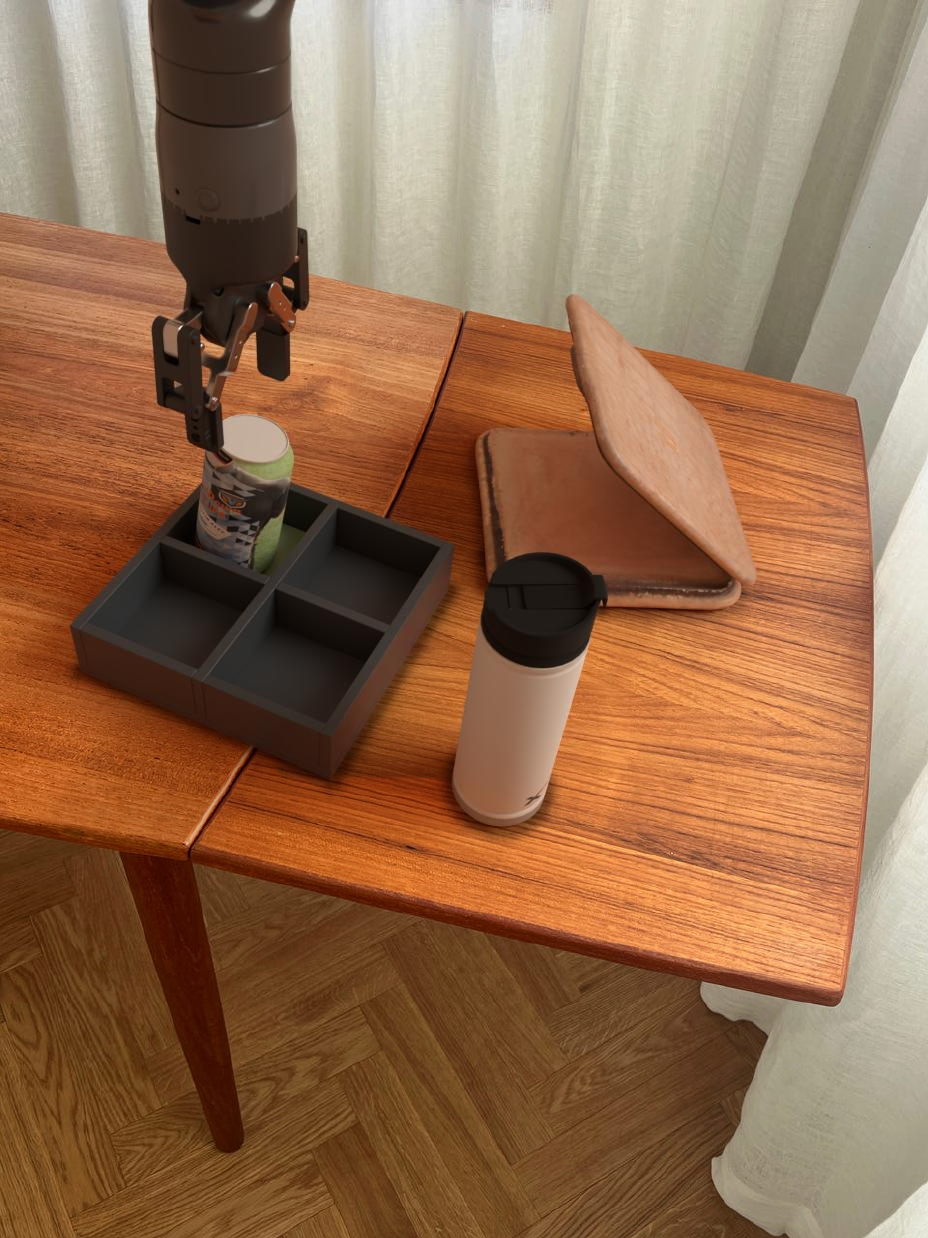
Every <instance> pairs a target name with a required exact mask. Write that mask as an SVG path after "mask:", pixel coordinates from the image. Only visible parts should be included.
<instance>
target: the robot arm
mask: <svg viewBox="0 0 928 1238" xmlns="http://www.w3.org/2000/svg"><path fill="white" fill-rule="evenodd" d="M296 1H297V0H147V23H148V34H149V45H150V47H149V48H150V55H151V66H152V74H153V85H154V86H153V87H154V94H155V120H154V121H155V122H154V140H155V141H154V142H155V151H156V162H157V163H156V164H157V170H158V180H159V191H160V203H161V209H162V212H161V213H162V222H163V229H164V238H165V240H164V241H165V249H166V252H167V256H168V258H169V259H170V261H171V263H172V264H173V265H174V266H175V267H176V269H177V270H178V271H179V273H180V274H181V276H182V278H183V279H184V281H185V283H186V285H185V295H184V300H183V306H182V307H183V308H182V309H183V310H182V312H180V313H179V314H178V315H176V316H175V317H174V318H169V317H166V316H163V315H160V314H159V315H157V316H156V317H155V318H154V319H153V321H152V324H151V340H152V353H153V356H152V357H153V368H154V381H155V393H156V403H157V405H158V406H160V407H162V408H164V409H169V410H171V411H174V412H177V413H178V414H179V413H180V414H182V415H184V424H185V432H186V440H187V441H188V443H189V444H191V445H193V446H194V447H196V448H199V449H201V450H204V451H205V450H207V451H209V452H212V453H217V452H218V451H219V450H220V449H221V448H222V447H223V446H224V433H223V420H224V419H223V407H222V402H221V398H222V395H223V392H224V388H225V384H226V380H227V378H228V376H231V375H234V374H235V373H236V372H237V370H238V366H239V363H240V359H241V357H242V353H243V349H244V346H245V344H246V343H247V342H248V340H249V339H250V337H251V336H252V335H253V334H255V346H256V347H255V350H256V369H257V371H258V373H259V374H261V375H262V376H264V377H266V378H269V379H272V380H275V381H278V382H284V381H286V379H287V378H288V377H289V376H290V375H291V333H292V332H293V331H294V329H295V327H296V326H297V325H296V324H297V315H296V312H297V311H298V310H299V311H302V312H303V311H305V310H306V309H307V307H308V306H309V302H310V271H309V270H310V268H309V241H308V240H309V239H308V234H309V233H308V231H307V229H306V228H303V227H300V226H298V141H297V131H296V125H295V124H296V123H295V119H294V109H293V98H292V96H293V95H292V91H293V89H292V86H293V85H292V84H293V83H292V81H293V80H292V17H293V14H294V13H293V12H294V8H295V5H296ZM284 278H286V279H289V280H291V281H292V283H293V286H289V285H286V284H284ZM201 337H203V339H205V341H207V342H209V343H210V344H213V345H215V346H218V347H221V348H223V349H224V351H223V354H222V355H221V356H216V355H213V354H211V353H208V352H205V351H204V350H205V349H206V345H205V343H204V342H202V340H201ZM203 367H204V368H207V369H209V371H210V374H209V378H208V381H207V384H206V386H203V383H204V382H203ZM175 383H176V385H175Z"/></svg>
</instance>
